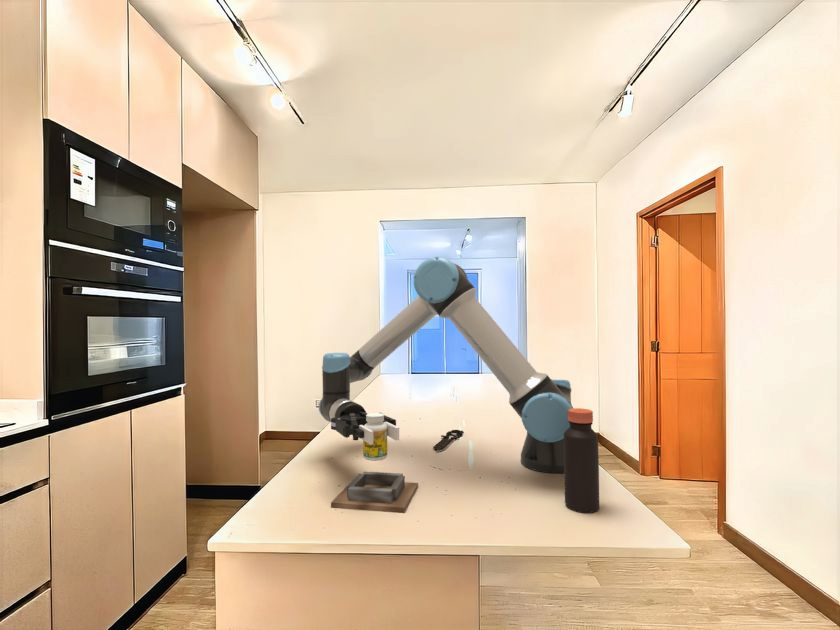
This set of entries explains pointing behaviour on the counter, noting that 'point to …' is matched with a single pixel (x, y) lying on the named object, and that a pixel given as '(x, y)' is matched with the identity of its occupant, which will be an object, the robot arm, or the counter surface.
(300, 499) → the counter surface
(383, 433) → the supplement bottle
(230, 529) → the counter surface
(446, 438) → the knife
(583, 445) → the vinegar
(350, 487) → the collar board
